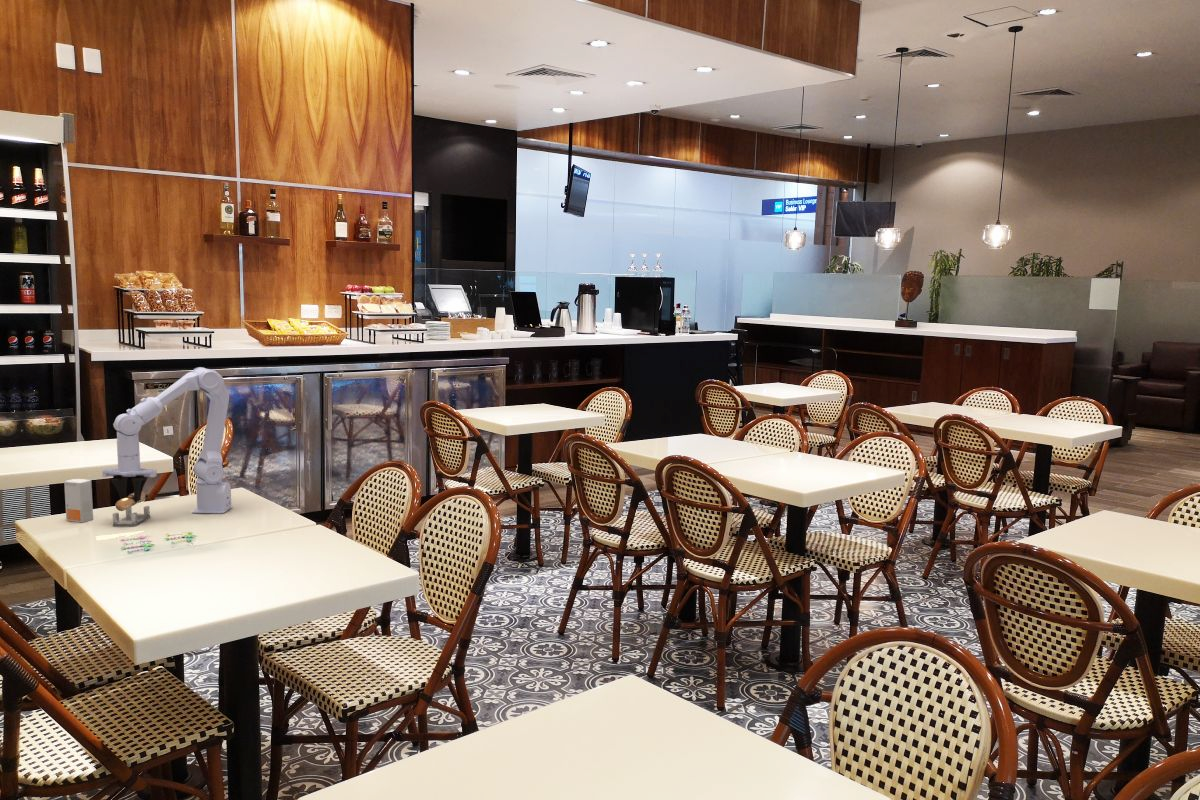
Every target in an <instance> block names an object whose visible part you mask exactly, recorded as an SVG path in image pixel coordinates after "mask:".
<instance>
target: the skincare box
mask: <svg viewBox="0 0 1200 800" xmlns="http://www.w3.org/2000/svg"><path fill="white" fill-rule="evenodd" d="M63 483H64V501H65V517H66V518H65V521H68V522H69V521H70V522H75V523H81V524H82V523H85V522H86V523H87V522H90V521H93V520H94V507H93V505H94V503H93V488H92V487H93V485H92V479H85V478H72V479H68V480H65V481H63ZM89 520H90V521H89Z"/></svg>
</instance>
